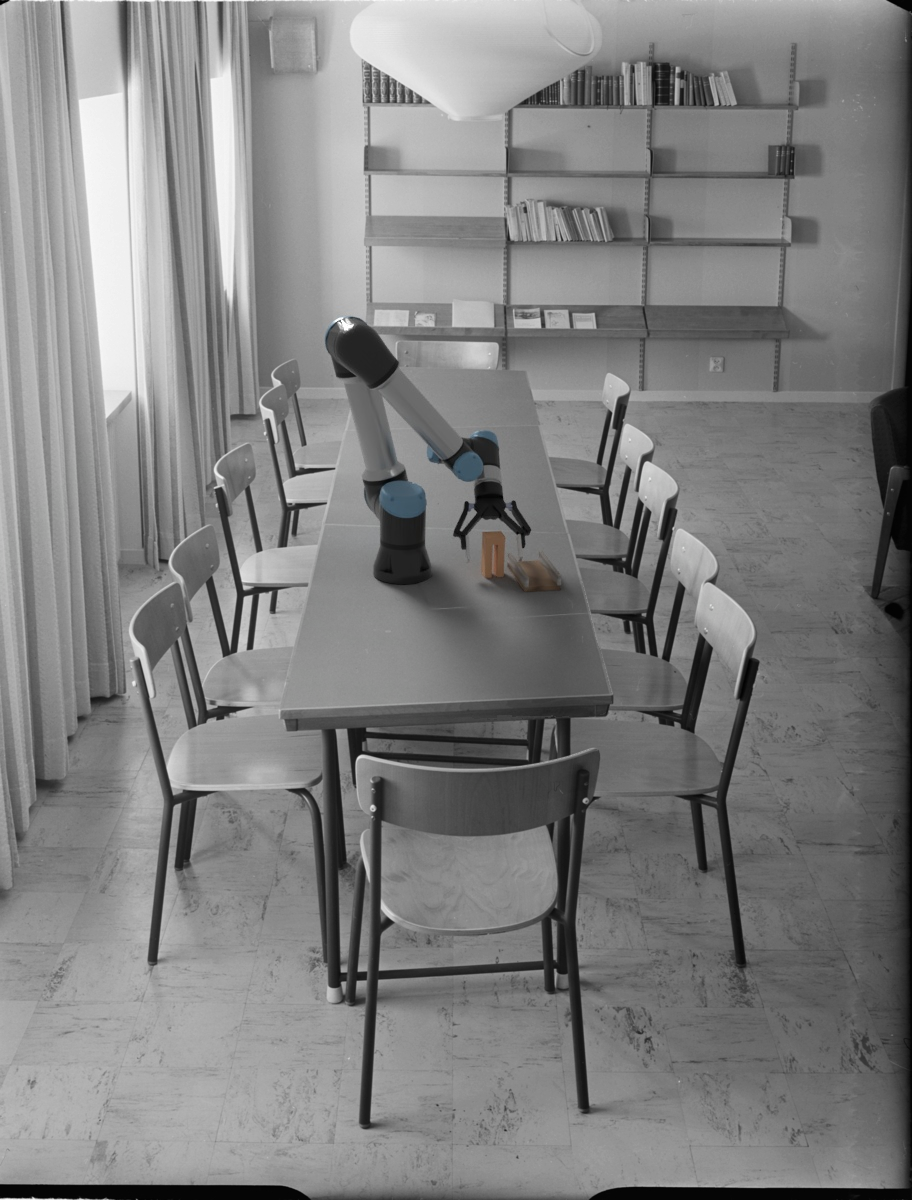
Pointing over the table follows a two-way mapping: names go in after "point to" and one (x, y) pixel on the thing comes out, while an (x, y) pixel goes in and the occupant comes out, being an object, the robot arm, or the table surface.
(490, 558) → the clip
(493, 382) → the table surface
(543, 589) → the rail
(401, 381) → the robot arm
